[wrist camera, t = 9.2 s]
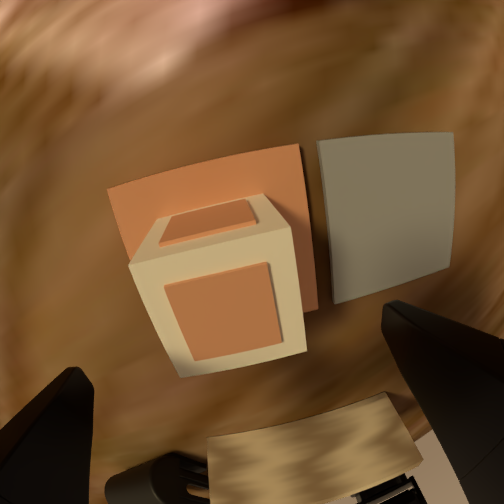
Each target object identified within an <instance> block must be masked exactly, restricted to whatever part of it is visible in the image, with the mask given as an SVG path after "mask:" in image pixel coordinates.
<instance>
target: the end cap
mask: <svg viewBox="0 0 504 504" xmlns="http://www.w3.org/2000/svg"><path fill="white" fill-rule="evenodd" d="M204 471H206V465H205V464H203V463H200V462H197V461H194V460H192V459H189V458H186V457H183V456H181V455H178V454H174V453H170V454H167V455H164V456H161V457H159V458H157V459H154V460H152V461H149V462H147V463H145V464H142V465H140V466H137V467H134V468H132V469H129V470H126V471H124V472H121V473H119V474H116V475H114V476H112V477H110V478H109V479H108V481H107V482H106V485H105V497H106V500H107V502H108V504H210V499H207V498H203V497H198V496H194V495H191V494H189V493H188V491H187V489H186V486H187V485H192V486H196V487H199V488H203V489H207V490H208V489H209V477H208V476H205V475H202V474H199V473H201V472H204Z"/></svg>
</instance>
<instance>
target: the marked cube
mask: <svg viewBox="0 0 504 504" xmlns="http://www.w3.org/2000/svg"><path fill="white" fill-rule="evenodd" d="M128 266H129V269H130V271H131V274H132V276H133V279H134V281H135V284H136V286H137V289H138V291H139V293H140V296H141V298H142V300H143V303H144V305H145V307H146V309H147V312H148V314H149V316H150V318H151V321H152V323H153V325H154V327H155V329H156V331H157V333H158V335H159V337H160V340H161V342H162V344H163V346H164V348H165V350H166V352H167V354H168V356H169V358H170V359H171V361H172V363H173V365H174V367H175V369H176V371H177V373H178V375H179V376H180V378H183V377H189V376H196V375H202V374H208V373H213V372H219V371H224V370H229V369H234V368H239V367H244V366H248V365H253V364H257V363H262V362H266V361H270V360H275V359H279V358H283V357H287V356H290V355H294V354H298V353H302V352H305V351H307V345H306V336H305V328H304V319H303V311H302V303H301V295H300V288H299V280H298V273H297V266H296V259H295V252H294V245H293V238H292V232H291V227H290V225H289V224H288V223H287V222H286V221H285V219H284V218H283V217H282V216H281V214H280V213H279V212H278V211H277V210H276V208H275V207H274V206H273V205H272V203H271V202H270V201H269V200H268V199H267V197H266V196H265V195H264V194H258V195H254V196H249V197H245V198H240V199H236V200H231V201H227V202H223V203H218V204H214V205H210V206H206V207H202V208H198V209H194V210H190V211H186V212H182V213H178V214H174V215H170V216H166V217H163V218H159V219H157V220H156V221H155V223H154V225H153V226H152V228H151V229H150V231H149V232H148V234H147V235H146V237H145V239H144V240H143V242H142V243H141V245H140V247H139V248H138V250H137V252H136V253H135V255H134V256H133V258H132V260H131V261H130V263H129V265H128Z"/></svg>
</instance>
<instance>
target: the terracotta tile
mask: <svg viewBox="0 0 504 504" xmlns="http://www.w3.org/2000/svg"><path fill="white" fill-rule="evenodd" d="M107 191H108V195H109V198H110V202H111V205H112V208H113V212H114V215H115V218H116V221H117V224H118V227H119V230H120V233H121V236H122V239H123V242H124V245H125V248H126V251H127V253H128V256H129V259H130V261H131V260H132V258H133V256H134V255H135V253H136V252H137V250H138V248H139V247H140V245H141V243H142V242H143V240H144V239H145V237H146V235H147V234H148V232H149V231H150V229H151V228H152V226H153V225H154V223H155V221H156V220H157V219H159V218H163V217H166V216H170V215H174V214H178V213H182V212H186V211H190V210H194V209H198V208H202V207H206V206H210V205H214V204H218V203H223V202H227V201H231V200H236V199H240V198H245V197H249V196H254V195H258V194H264V195H265V196H266V197H267V199H268V200H269V201H270V202H271V203H272V205H273V206H274V207H275V208H276V210H277V211H278V212H279V213H280V214H281V216H282V217H283V218H284V219H285V221H286V222H287V223H288V224H289V225H290V227H291V232H292V238H293V245H294V252H295V259H296V266H297V273H298V280H299V288H300V295H301V303H302V311H303V313H305V312H309V311H313V310H316V309H318V297H317V285H316V274H315V264H314V254H313V245H312V236H311V227H310V219H309V211H308V204H307V196H306V189H305V182H304V175H303V169H302V162H301V156H300V150H299V144H289V145H283V146H277V147H271V148H266V149H260V150H255V151H250V152H244V153H239V154H235V155H230V156H225V157H220V158H216V159H212V160H207V161H203V162H199V163H195V164H191V165H187V166H183V167H179V168H175V169H171V170H167V171H164V172H160V173H157V174H153V175H150V176H146V177H143V178H139V179H136V180H133V181H130V182H126V183H123V184H120V185H117V186H114V187H111V188H109V189H107Z"/></svg>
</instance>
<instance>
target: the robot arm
mask: <svg viewBox="0 0 504 504" xmlns="http://www.w3.org/2000/svg"><path fill="white" fill-rule="evenodd" d="M381 330H382V333H383V336H384V338H385V340H386V342H387V344H388V346H389V348H390V350H391V353H392V355H393V357H394V359H395V361H396V364H397V366H398V368H399V370H400V372H401V374H402V376H403V378H404V380H405V381H406V383H407V385H408V386H409V388H410V390H411V392H412V393H413V395H414V397H415V398H416V400H417V402H418V404H419V405H420V407H421V409H422V411H423V413H424V414H425V416H426V418H427V420H428V422H429V423H430V425H431V427H432V429H433V431H434V433H435V434H436V436H437V438H438V440H439V442H440V444H441V446H442V448H443V450H444V452H445V454H446V455H447V457H448V459H449V461H450V463H451V465H452V467H453V469H454V471H455V473H456V476H457V478H458V480H460V481H459V482H460V484H461V486H462V489H463V491H464V493H465V495H466V497H467V500H468V502H469V504H504V339H499V338H498V337H496V336H493V335H490V334H488V333H485V332H483V331H480V330H477V329H475V328H472V327H469V326H467V325H464V324H461V323H459V322H456V321H453V320H450V319H448V318H445V317H442V316H440V315H437V314H434V313H432V312H429V311H426V310H424V309H421V308H418V307H416V306H413V305H410V304H407V303H405V302H402V301H399V300H394V301H391V302H388V303H385V304H384V306H383V312H382V322H381ZM93 408H94V387H93V385H92V383H91V382H90V380H89V379H88V378H87V376H86V375H85V373H84V372H83V371H82V369H81V368H79V367H68V368H66V369H65V370H64V371H63V372H62V373H61V374H60V375H58V376H57V377H56V378H55V379H54V380H53V381H52V382H51V383H50V384H49V385H47V386H46V387H45V388H44V389H43V390H42V391H41V392H40V393H39V394H38V395H37V396H35V397H34V398H33V399H32V400H31V401H30V402H29V403H28V404H27V405H26V406H25V407H24V408H23V409H22V410H21V411H19V412H18V413H17V414H16V415H15V416H14V417H13V418H12V419H11V420H10V421H9V422H8V423H7V424H6V425H5V426H4V427H3V428H2V429H1V430H0V504H89V476H90V460H91V447H92V437H93ZM411 486H412V487H413V488H412V489H410V490H406V489H407V488H409V487H411ZM404 490H406V491H404ZM402 491H404V492H402ZM400 492H402V493H400ZM398 493H400V494H398ZM396 494H398V495H396ZM394 495H396V496H394ZM392 496H394V497H392ZM351 497H356V499H357V502H358V503H357V504H377V503H379V502H382V501H384V500H386V499H388V498H390V497H392V498H390V499H388V500H386V501H384V502H382V503H380V504H427V502H426V500H425V498H424V496H423V494H422V492H421V490H420V488H419V487H418V485H417V483H416V481H415V479H414V477H413V476H411V477H409V479H407V477H406V475H405V473H403V474H401V475H399V476H397V477H395V478H393V479H390V480H388V481H386V482H383V483H381V484H379V485H376V486H374V487H371V488H369V489H366V490H364V491H361V492H358V493H355V494H353V495H351Z"/></svg>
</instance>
